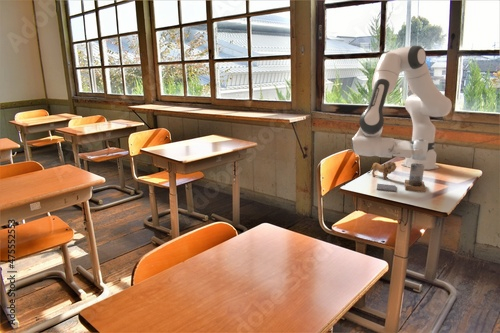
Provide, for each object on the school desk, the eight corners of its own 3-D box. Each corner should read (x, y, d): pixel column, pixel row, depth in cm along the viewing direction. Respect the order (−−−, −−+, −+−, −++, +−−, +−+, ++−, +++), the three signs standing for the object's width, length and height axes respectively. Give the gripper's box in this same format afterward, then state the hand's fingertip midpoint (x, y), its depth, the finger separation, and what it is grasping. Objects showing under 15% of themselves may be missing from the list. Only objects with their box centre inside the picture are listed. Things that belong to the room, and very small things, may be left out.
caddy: (404, 183, 178) (405, 175, 177) (423, 185, 176) (424, 177, 175) (405, 190, 169) (406, 181, 168) (425, 192, 167) (426, 183, 166)
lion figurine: (396, 179, 185) (398, 161, 183) (391, 181, 181) (393, 163, 179) (369, 173, 195) (371, 156, 193) (363, 175, 192) (365, 157, 190)
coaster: (377, 184, 176) (377, 183, 176) (395, 186, 174) (395, 185, 173) (376, 189, 169) (376, 188, 169) (395, 192, 166) (396, 190, 166)
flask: (408, 182, 174) (410, 163, 172) (421, 183, 172) (423, 164, 170) (408, 185, 169) (411, 165, 167) (422, 186, 167) (424, 167, 165)
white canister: (411, 156, 171) (413, 137, 169) (425, 157, 169) (428, 137, 167) (412, 159, 166) (414, 139, 164) (426, 161, 164) (429, 140, 162)
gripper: (389, 145, 160) (425, 147, 156) (389, 136, 179) (421, 138, 175) (387, 160, 162) (423, 162, 158) (387, 150, 181) (419, 152, 176)
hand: (422, 150), depth 166 cm, fingers closed on white canister, 6 cm apart
